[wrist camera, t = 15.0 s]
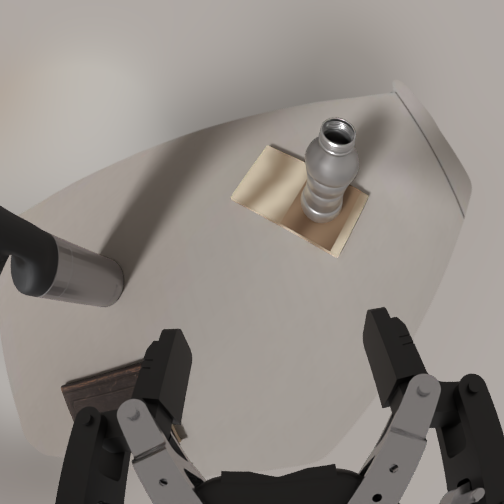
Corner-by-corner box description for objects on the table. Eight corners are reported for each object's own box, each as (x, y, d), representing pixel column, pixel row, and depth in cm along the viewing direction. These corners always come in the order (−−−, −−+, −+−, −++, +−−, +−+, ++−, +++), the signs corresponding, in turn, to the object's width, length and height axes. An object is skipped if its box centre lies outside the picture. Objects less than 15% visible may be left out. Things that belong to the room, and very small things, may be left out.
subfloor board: (231, 200, 47) (230, 196, 46) (267, 148, 49) (267, 144, 48) (336, 258, 43) (338, 256, 42) (367, 198, 45) (369, 195, 43)
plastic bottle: (332, 185, 44) (355, 104, 25) (344, 223, 43) (380, 154, 23) (295, 192, 45) (297, 110, 26) (305, 231, 43) (317, 164, 24)
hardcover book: (184, 441, 39) (179, 446, 37) (95, 452, 39) (89, 455, 37) (148, 360, 43) (141, 361, 41) (66, 384, 44) (59, 385, 41)
